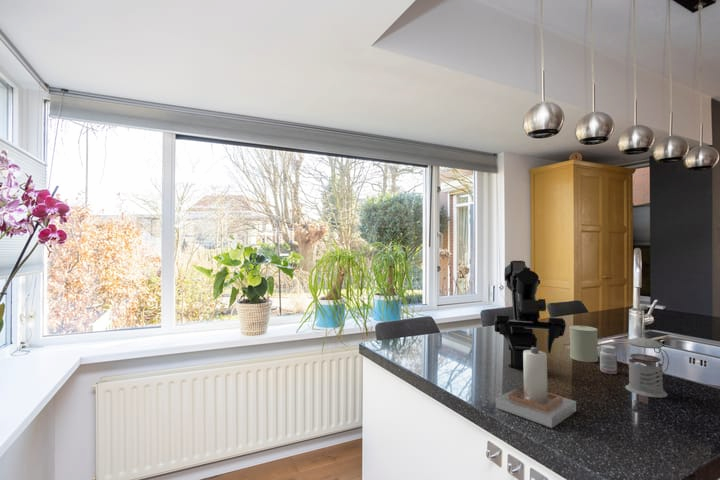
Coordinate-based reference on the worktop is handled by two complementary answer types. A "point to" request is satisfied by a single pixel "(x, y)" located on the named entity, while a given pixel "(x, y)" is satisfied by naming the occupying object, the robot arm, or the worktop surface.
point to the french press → (646, 368)
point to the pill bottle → (608, 359)
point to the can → (583, 343)
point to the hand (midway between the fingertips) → (531, 351)
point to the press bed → (537, 407)
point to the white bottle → (535, 375)
